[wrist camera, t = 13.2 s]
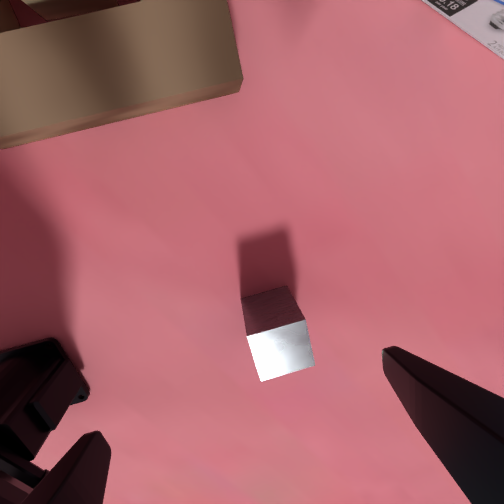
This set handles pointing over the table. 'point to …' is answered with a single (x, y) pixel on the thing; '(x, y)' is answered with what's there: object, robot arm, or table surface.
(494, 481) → the robot arm
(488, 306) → the table surface
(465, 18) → the light bulb box
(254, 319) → the metal stub
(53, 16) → the maple pin
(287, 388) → the table surface
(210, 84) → the walnut sleeve block
